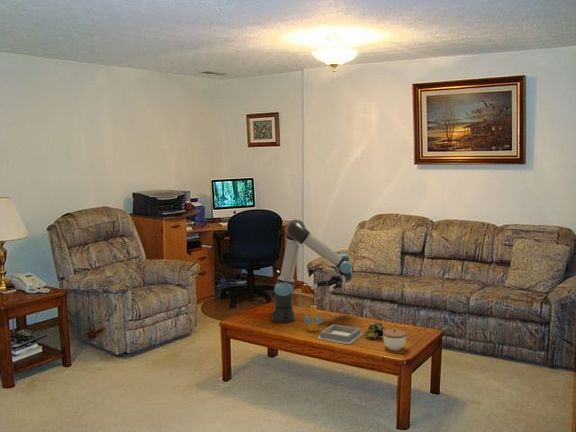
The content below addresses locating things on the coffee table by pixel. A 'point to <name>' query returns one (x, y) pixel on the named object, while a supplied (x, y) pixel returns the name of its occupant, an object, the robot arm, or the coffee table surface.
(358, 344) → the coffee table surface
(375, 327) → the passion flower
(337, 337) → the holder tray
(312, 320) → the orange tube
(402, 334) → the lidded bowl
